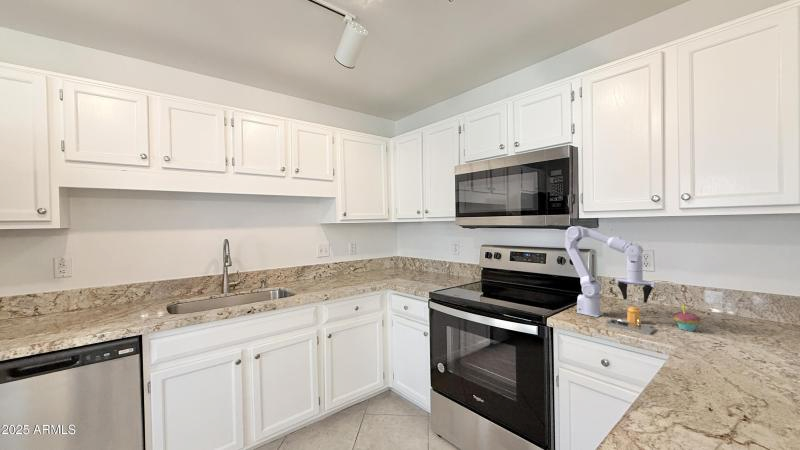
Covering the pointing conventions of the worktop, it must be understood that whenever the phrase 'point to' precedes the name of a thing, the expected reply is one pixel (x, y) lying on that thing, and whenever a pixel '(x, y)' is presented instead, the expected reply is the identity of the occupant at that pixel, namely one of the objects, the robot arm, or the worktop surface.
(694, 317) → the cupcake
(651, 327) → the plate
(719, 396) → the worktop surface
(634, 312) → the acorn cap nut
